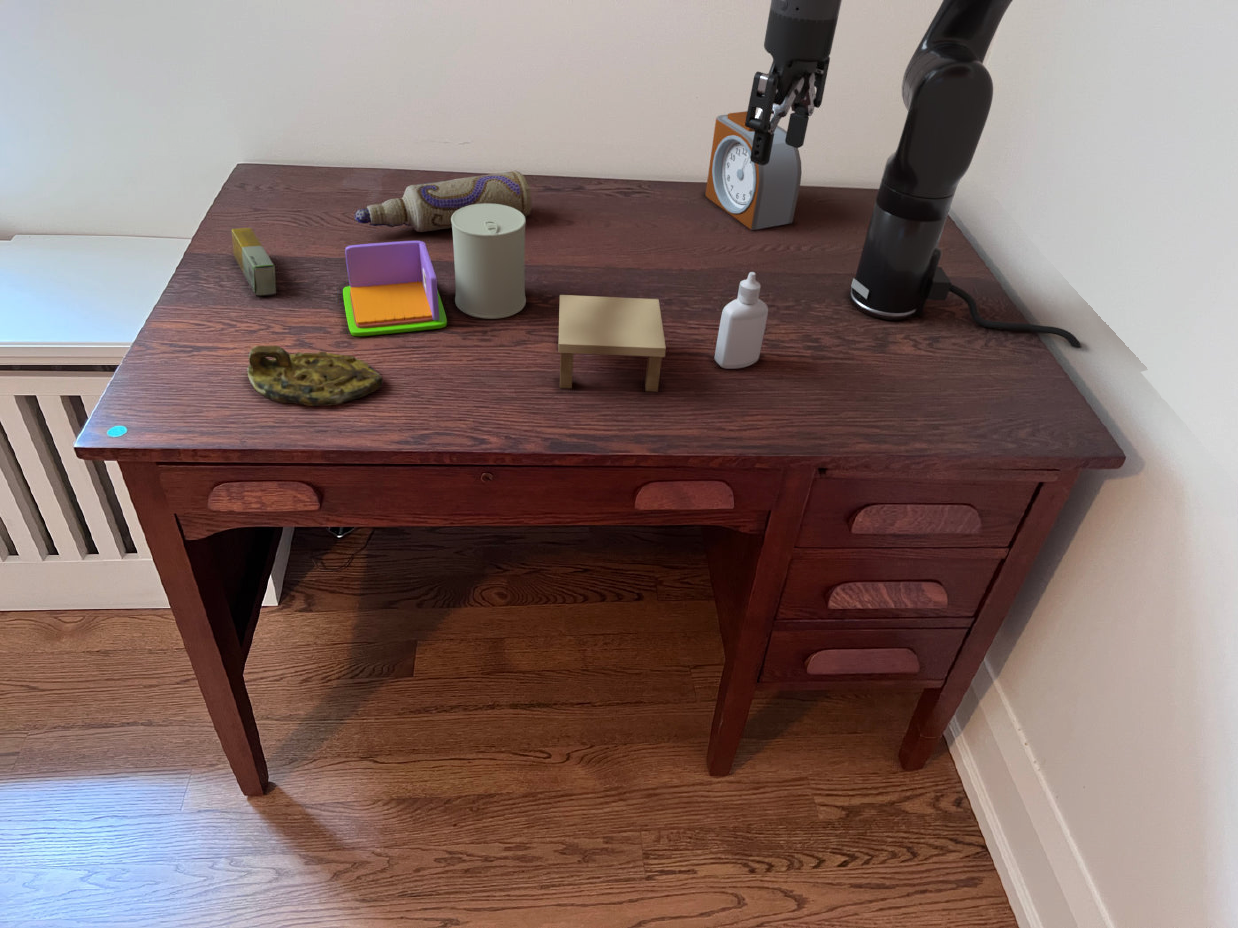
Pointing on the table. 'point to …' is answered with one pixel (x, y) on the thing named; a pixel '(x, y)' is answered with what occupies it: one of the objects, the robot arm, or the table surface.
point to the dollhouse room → (391, 289)
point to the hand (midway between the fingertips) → (776, 154)
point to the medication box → (254, 262)
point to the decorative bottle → (448, 201)
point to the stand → (610, 332)
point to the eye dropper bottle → (742, 327)
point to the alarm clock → (752, 175)
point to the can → (489, 260)
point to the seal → (310, 376)
